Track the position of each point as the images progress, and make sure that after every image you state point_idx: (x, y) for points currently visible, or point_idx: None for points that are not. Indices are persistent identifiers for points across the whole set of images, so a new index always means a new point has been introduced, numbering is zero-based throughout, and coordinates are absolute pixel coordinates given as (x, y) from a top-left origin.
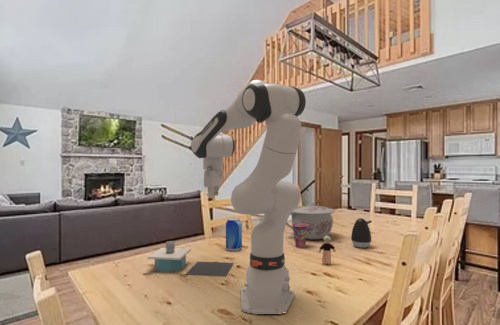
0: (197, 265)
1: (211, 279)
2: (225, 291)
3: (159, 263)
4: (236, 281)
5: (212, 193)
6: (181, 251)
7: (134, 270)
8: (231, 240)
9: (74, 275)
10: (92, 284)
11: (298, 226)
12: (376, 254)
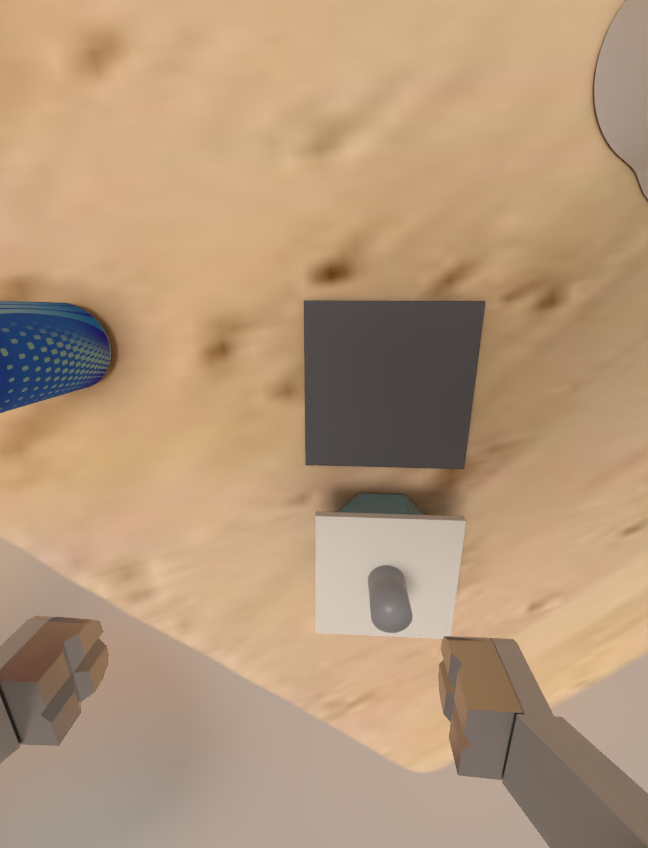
0: (354, 452)
1: (499, 358)
2: (630, 272)
3: None
4: (526, 246)
5: (552, 717)
6: (366, 542)
7: (408, 637)
8: (81, 357)
9: None
10: None
11: None
12: None
